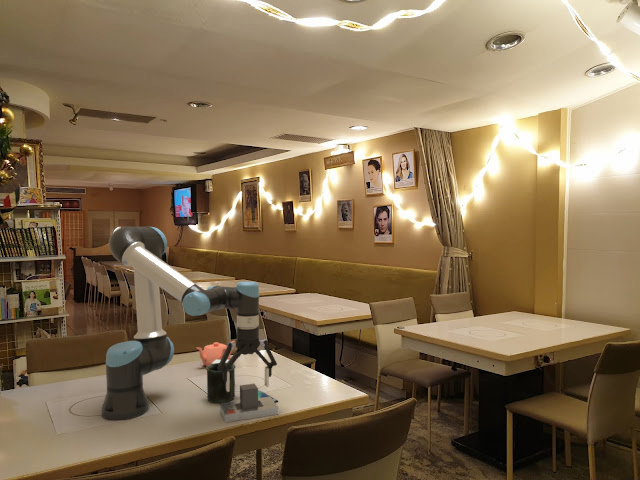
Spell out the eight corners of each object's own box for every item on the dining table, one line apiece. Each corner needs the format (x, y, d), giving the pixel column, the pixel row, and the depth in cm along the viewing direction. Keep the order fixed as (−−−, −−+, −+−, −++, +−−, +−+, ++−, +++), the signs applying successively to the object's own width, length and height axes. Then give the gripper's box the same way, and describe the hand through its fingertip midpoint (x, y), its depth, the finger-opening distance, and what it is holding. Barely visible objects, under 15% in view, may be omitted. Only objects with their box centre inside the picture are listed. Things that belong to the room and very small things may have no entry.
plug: (243, 416, 158) (242, 390, 158) (240, 411, 163) (239, 385, 163) (258, 414, 160) (257, 388, 160) (254, 408, 165) (254, 383, 165)
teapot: (235, 361, 225) (235, 339, 225) (227, 370, 211) (226, 346, 211) (206, 361, 226) (205, 338, 226) (195, 370, 212) (195, 346, 212)
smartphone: (262, 405, 167) (243, 393, 180) (262, 407, 167) (243, 395, 180) (279, 401, 172) (259, 389, 184) (279, 403, 172) (259, 391, 184)
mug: (210, 406, 168) (209, 372, 168) (201, 393, 181) (201, 362, 181) (239, 401, 173) (239, 368, 173) (229, 389, 186) (228, 359, 186)
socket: (225, 422, 154) (225, 413, 154) (220, 410, 164) (220, 402, 164) (278, 414, 160) (278, 405, 160) (270, 403, 170) (270, 395, 170)
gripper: (212, 331, 153) (212, 396, 154) (285, 326, 162) (285, 387, 163) (209, 327, 160) (209, 388, 161) (279, 322, 169) (279, 380, 170)
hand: (247, 388), depth 162 cm, fingers open, 13 cm apart
